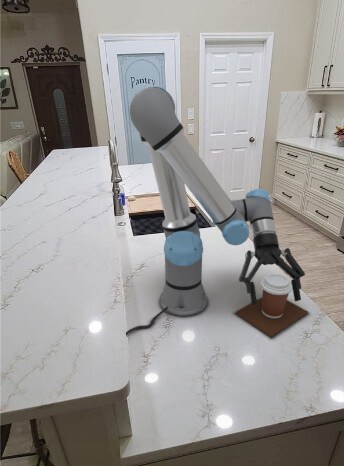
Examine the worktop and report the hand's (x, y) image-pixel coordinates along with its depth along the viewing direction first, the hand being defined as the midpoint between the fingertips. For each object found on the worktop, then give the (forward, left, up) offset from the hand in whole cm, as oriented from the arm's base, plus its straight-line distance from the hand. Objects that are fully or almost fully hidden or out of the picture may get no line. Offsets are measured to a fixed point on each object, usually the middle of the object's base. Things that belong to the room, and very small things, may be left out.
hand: (276, 302), depth 99 cm
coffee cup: (+1, +2, -6) cm, 6 cm away
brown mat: (+1, +2, -6) cm, 6 cm away
